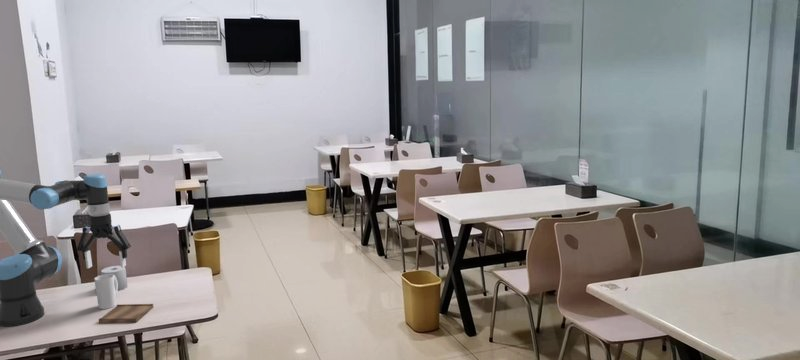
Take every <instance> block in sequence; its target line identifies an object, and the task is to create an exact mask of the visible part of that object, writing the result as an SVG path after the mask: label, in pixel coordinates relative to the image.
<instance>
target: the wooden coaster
mask: <svg viewBox="0 0 800 360" xmlns="http://www.w3.org/2000/svg"><path fill="white" fill-rule="evenodd" d="M152 309H154V303H134V304H133V303H131V304H130V303H129V304H127V303H126V304H116V306H114V307H113V308H111V309H110V311H108V312H107V313H106V314H104V315H103V316H102V317H101V318H98V324H114V323H116V324H119V323H121V324H123V323H125V324H126V323H128V324H129V323H138V322H139V321H140V320H141V319H142V318H143V317H144V316H146V315H147V314H148V313H149V312H150V311H151V310H152Z"/></svg>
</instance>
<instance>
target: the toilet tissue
mask: <svg viewBox="0 0 800 360" xmlns="http://www.w3.org/2000/svg"><path fill="white" fill-rule="evenodd" d="M100 271H101V275H106V274H112V275H115V277H116V279H117V281H118V291H117V292H120V291H124V290H125V289H128V287H129V286H128V280H127V279H128V278H127V269H126V266H124V267H121V265H112V266H107V267H104V268H103V269H101V270H100ZM114 285H115V282H114Z"/></svg>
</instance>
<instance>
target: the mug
mask: <svg viewBox="0 0 800 360" xmlns="http://www.w3.org/2000/svg"><path fill="white" fill-rule="evenodd" d="M93 279H94V287H95V293H96V297H97V298H96V299H97V304H98V308H99V309H100V310H106V309H113V308H115V307H116V306H117V297H116V296H117V295H118V292H119V291H118V281H117V279H116V277H115V275H112V274H106V275H102V274H101V275H97V276H96V277H94V278H93ZM114 282H115V285H114Z"/></svg>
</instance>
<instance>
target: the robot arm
mask: <svg viewBox="0 0 800 360" xmlns="http://www.w3.org/2000/svg"><path fill="white" fill-rule="evenodd" d="M108 193H109V192H108V184H107V179H106V176H105V174H103V173H94V174H86V175H84V177H83V180H66V179H65V180H61V181H56V182H55V183H54V184H53V185H42V184H37V183H29V182H24V181H20V180H19V181H18V180H11V179H6V178H3V177H2V170H1V169H0V233H1V234H2V236H3V237H4V238H5V240H6V241H7V242H8V244H9V246H10V247H11V248H12V250H13V251H14V255H11V256H7V257H5V258H2V259H0V326H2V327H14V326H20V325H26V324H28V323H31V322H35V321H37V320H39V319H40V318H42V317H43V316H44V315H46V314H45V307H44V306H43V304H42V303H41V301H40V298H39V297H38V295H37V291H36V290H37V288H36V284H38V283H40V282H42V281H44V280H46V279H49V278H51V277H52V276H54V275H56V274H57V273H58V272H59V271H60V269H61V268H62V264H63V257H62V254H61V253H60V251H59V250H58V249H57V248H56V247H52V246H49V245H47V243H46V242H45V241H44V240H42V239H37V237H36V236H35V235H34V233H33V232H32V231H31V229H30V227H29V226H28V225H27V224H26V222H25V220H24V219H23V218H22V216H21V215H20V214H19V212H18V211H17V209H16V208H15V207H14V205H13V204H12V202H14V203H20V204H26V205H31V206H33V207H34V208H35V209H37V210H50V209H53V208H54V207H57V206H60V205H63V204H66V203H69V202H71V201H81V200H84V201H85V200H86V203H87V205H86V206H87V210H88V211H87V213H88V215H89V216H88V219H89V225H90V226H88V225H87V226H84V227H82V229H81V230H82V234H81V237H80V239H79V241H78V244H77V247H76V250H77V251H78V252H79V251H80V252H82V258H83V260H84V261H85V267H86V269H90V268H92V267H93V262H92V254H91V253H92V252H91V250H89V249H90V248H91V246H92V245H93V243H94V242H95V240H96V239H106V238H107V239H108V240H110V241H111V242H112V243H113V244H114V245H115V246H116V247H117V248H118V249H119V251H118V253H119V263H120V266H121V267H124V266H125V267H126V266H127V262H126V261H127V260H126V259H127V257H128V252H127V250H128V249H130V248H131V247H132V245H131V243H130V242H129V240H128V239H127V237H126V236H125V234H124V232H123V231H122V228H121V225H120V224H118V225H115V226H114V225H112V215H111V213H110V212H111V208H110V201H109V194H108ZM89 232H91V233H92V234H91V236H90V238H89V239H88V236H89ZM87 239H88V240H87Z"/></svg>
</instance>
